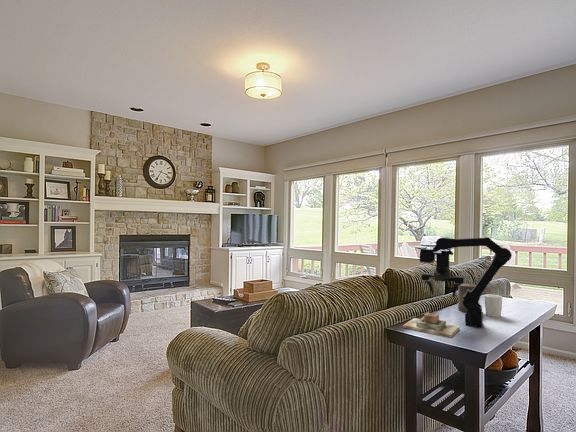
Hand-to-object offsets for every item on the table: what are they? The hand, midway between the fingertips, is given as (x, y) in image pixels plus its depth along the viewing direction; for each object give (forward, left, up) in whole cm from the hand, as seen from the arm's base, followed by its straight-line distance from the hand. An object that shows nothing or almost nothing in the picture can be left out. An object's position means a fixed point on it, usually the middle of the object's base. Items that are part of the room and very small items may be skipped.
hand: (442, 296), depth 169 cm
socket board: (+1, +15, -12) cm, 19 cm away
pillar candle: (-5, -29, -12) cm, 31 cm away
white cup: (-17, -27, -12) cm, 34 cm away
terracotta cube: (+1, +15, -11) cm, 19 cm away
